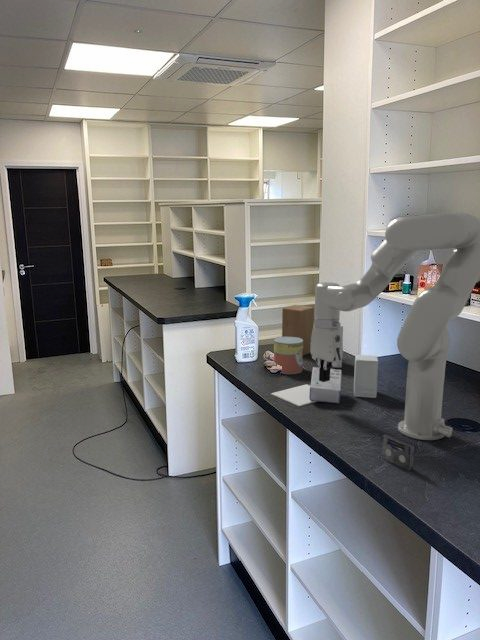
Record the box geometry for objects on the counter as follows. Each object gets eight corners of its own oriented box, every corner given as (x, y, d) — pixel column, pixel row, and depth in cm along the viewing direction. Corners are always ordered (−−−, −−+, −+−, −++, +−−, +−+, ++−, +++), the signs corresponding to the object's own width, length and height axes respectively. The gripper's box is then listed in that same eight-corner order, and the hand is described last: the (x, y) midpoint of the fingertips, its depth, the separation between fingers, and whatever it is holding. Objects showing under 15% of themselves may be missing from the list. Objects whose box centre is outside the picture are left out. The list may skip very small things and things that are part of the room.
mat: (335, 396, 171) (335, 395, 171) (298, 406, 162) (299, 405, 162) (306, 385, 183) (306, 384, 183) (270, 394, 174) (271, 393, 173)
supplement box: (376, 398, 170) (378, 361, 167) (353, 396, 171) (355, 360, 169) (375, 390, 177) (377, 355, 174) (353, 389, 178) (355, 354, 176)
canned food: (295, 375, 193) (296, 344, 191) (268, 371, 199) (268, 341, 197) (307, 368, 203) (307, 338, 201) (281, 364, 208) (281, 335, 206)
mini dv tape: (412, 469, 123) (414, 445, 121) (408, 471, 122) (410, 447, 121) (385, 456, 129) (386, 434, 128) (381, 458, 128) (382, 435, 127)
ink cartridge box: (339, 405, 165) (341, 378, 177) (341, 391, 162) (342, 364, 174) (308, 401, 166) (312, 374, 179) (309, 387, 164) (313, 361, 176)
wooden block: (281, 353, 225) (281, 307, 221) (294, 348, 233) (295, 304, 229) (300, 356, 219) (301, 310, 215) (313, 352, 226) (314, 307, 222)
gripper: (353, 326, 154) (350, 384, 158) (318, 317, 166) (316, 372, 170) (335, 329, 150) (333, 389, 153) (300, 320, 162) (299, 376, 165)
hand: (324, 380), depth 162 cm, fingers closed
